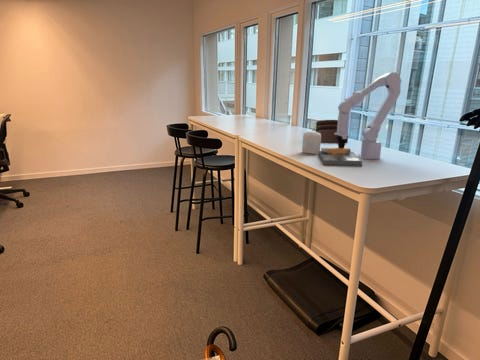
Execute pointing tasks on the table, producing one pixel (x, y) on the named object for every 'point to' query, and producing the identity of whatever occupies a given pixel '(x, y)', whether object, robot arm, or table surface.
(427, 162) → the table surface
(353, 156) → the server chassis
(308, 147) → the photo printer
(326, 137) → the letter holder
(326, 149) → the tan grey headed bar
